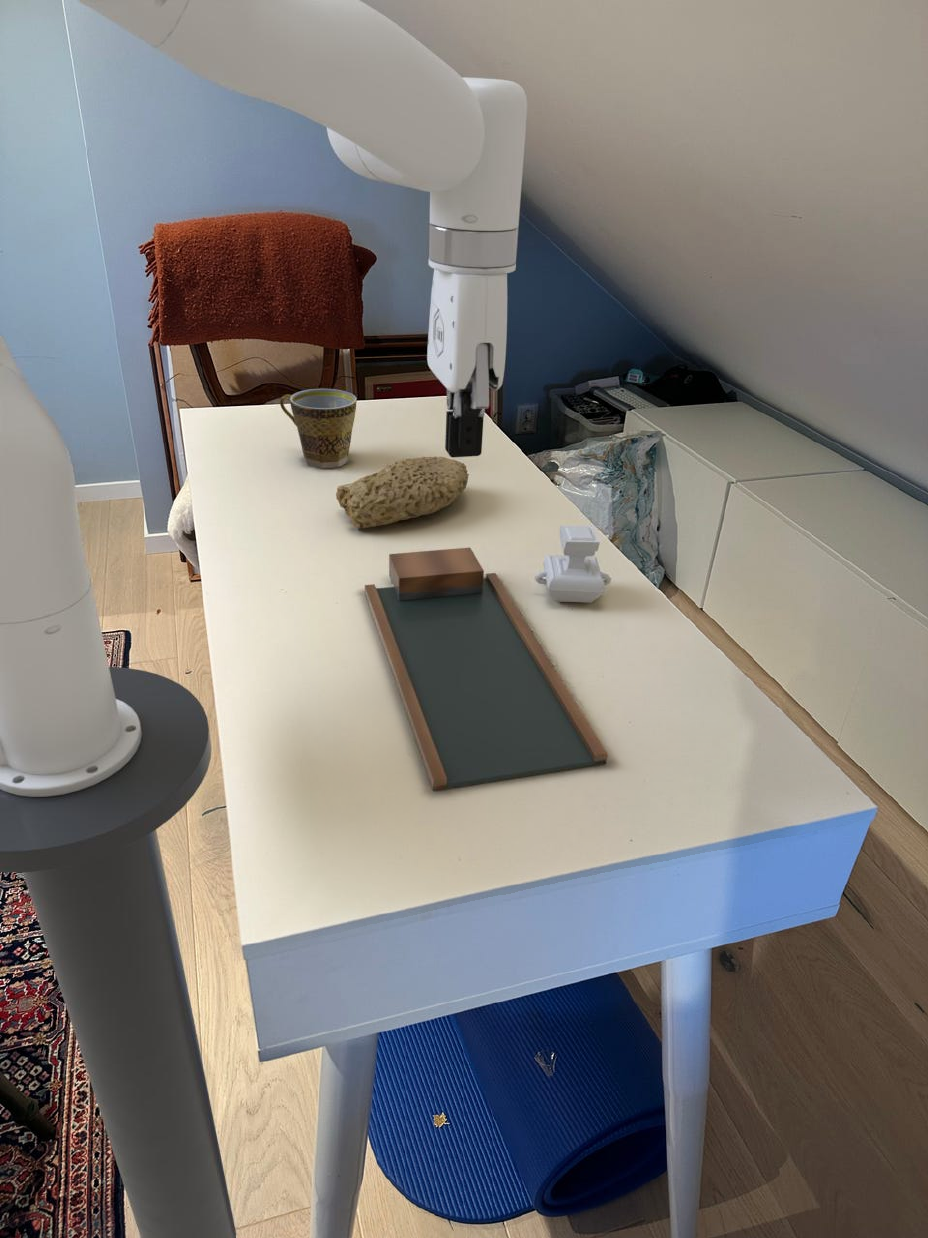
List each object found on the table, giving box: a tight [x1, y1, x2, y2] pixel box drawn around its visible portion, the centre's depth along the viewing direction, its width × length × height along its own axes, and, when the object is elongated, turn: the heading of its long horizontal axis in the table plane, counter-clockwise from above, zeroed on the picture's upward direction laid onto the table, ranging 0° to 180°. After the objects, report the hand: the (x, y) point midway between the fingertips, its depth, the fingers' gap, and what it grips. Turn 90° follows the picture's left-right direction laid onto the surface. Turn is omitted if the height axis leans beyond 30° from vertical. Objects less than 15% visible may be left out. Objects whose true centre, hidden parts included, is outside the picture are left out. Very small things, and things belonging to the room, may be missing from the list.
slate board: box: [364, 572, 608, 792], centre depth 89 cm, size 16×34×1 cm, turn 15°
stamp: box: [534, 525, 612, 603], centre depth 101 cm, size 9×7×8 cm
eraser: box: [388, 547, 485, 601], centre depth 102 cm, size 10×6×3 cm, turn 105°
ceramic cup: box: [279, 388, 358, 470], centre depth 133 cm, size 13×10×10 cm
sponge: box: [335, 456, 470, 529], centre depth 120 cm, size 13×8×20 cm
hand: (463, 453), depth 83 cm, fingers closed
